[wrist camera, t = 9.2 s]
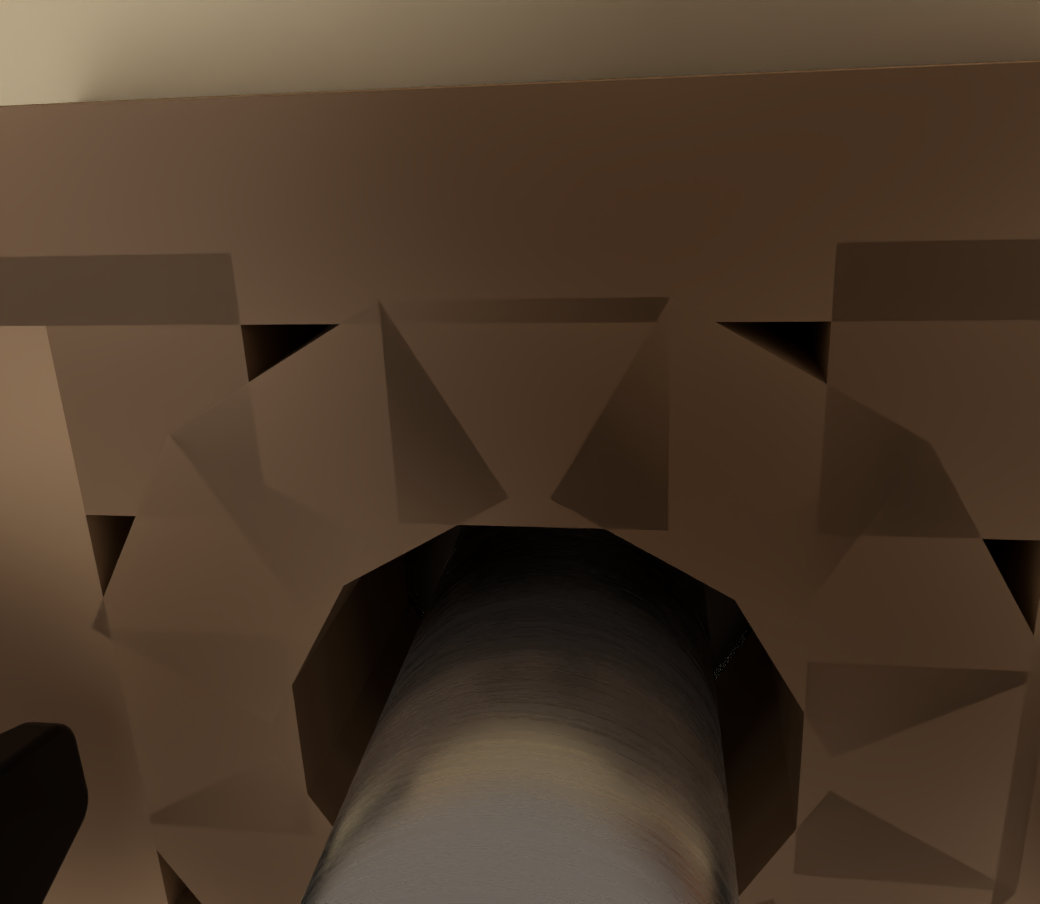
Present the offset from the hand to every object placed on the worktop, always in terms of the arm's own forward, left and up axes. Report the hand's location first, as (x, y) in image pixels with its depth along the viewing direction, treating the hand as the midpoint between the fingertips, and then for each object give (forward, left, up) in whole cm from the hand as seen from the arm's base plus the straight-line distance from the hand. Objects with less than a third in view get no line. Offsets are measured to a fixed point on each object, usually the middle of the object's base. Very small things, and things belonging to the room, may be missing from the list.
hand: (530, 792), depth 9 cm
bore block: (0, 0, -4) cm, 4 cm away
